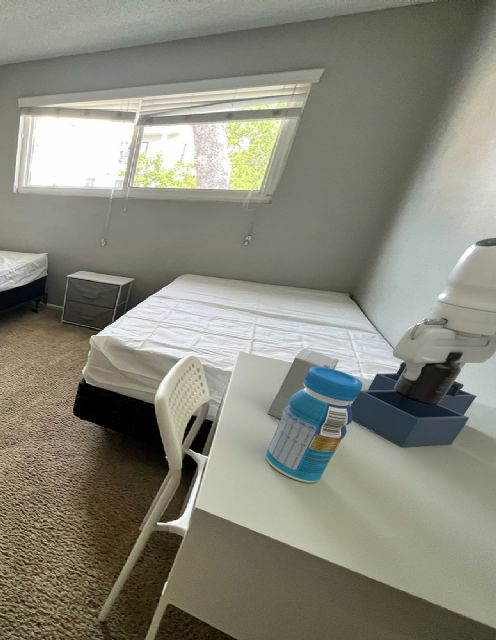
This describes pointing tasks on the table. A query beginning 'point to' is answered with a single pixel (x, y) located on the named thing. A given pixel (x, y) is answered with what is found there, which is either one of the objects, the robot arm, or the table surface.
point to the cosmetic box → (298, 378)
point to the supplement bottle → (430, 381)
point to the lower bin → (406, 419)
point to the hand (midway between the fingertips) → (426, 378)
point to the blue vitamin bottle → (313, 424)
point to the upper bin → (451, 400)
